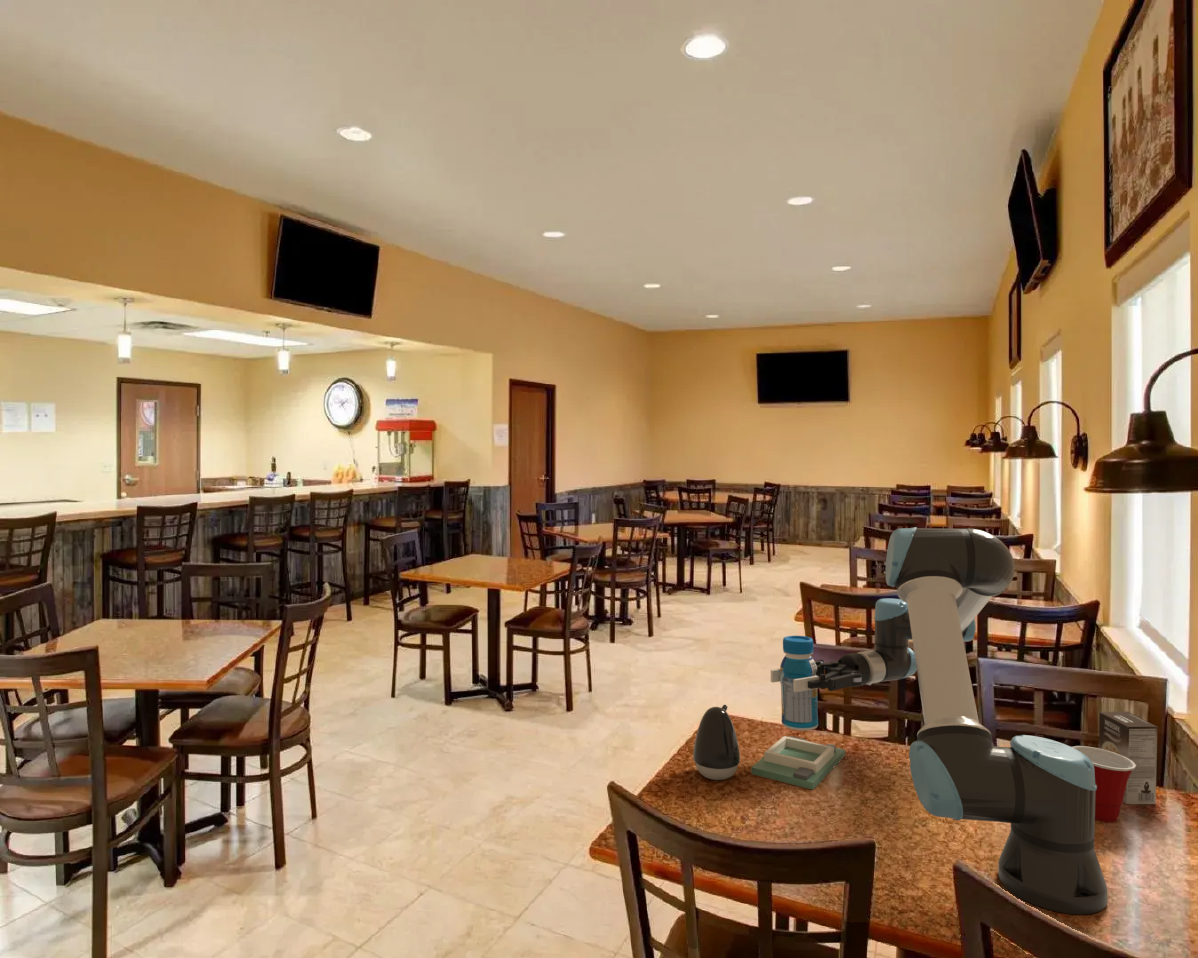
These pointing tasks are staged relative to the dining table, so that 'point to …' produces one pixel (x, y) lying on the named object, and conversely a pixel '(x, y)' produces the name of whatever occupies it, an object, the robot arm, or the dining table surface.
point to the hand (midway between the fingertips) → (782, 680)
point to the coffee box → (1132, 752)
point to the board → (798, 762)
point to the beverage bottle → (795, 665)
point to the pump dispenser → (716, 745)
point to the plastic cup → (1108, 781)
